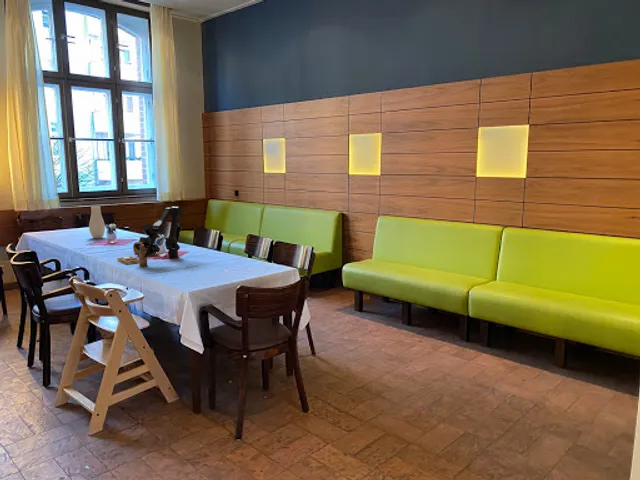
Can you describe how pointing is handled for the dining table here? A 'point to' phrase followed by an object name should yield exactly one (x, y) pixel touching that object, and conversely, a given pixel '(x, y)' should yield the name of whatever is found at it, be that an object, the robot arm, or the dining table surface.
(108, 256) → the dining table surface
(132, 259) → the caddy
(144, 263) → the pepper mill
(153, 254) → the bread
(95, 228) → the vase
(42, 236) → the dining table surface
